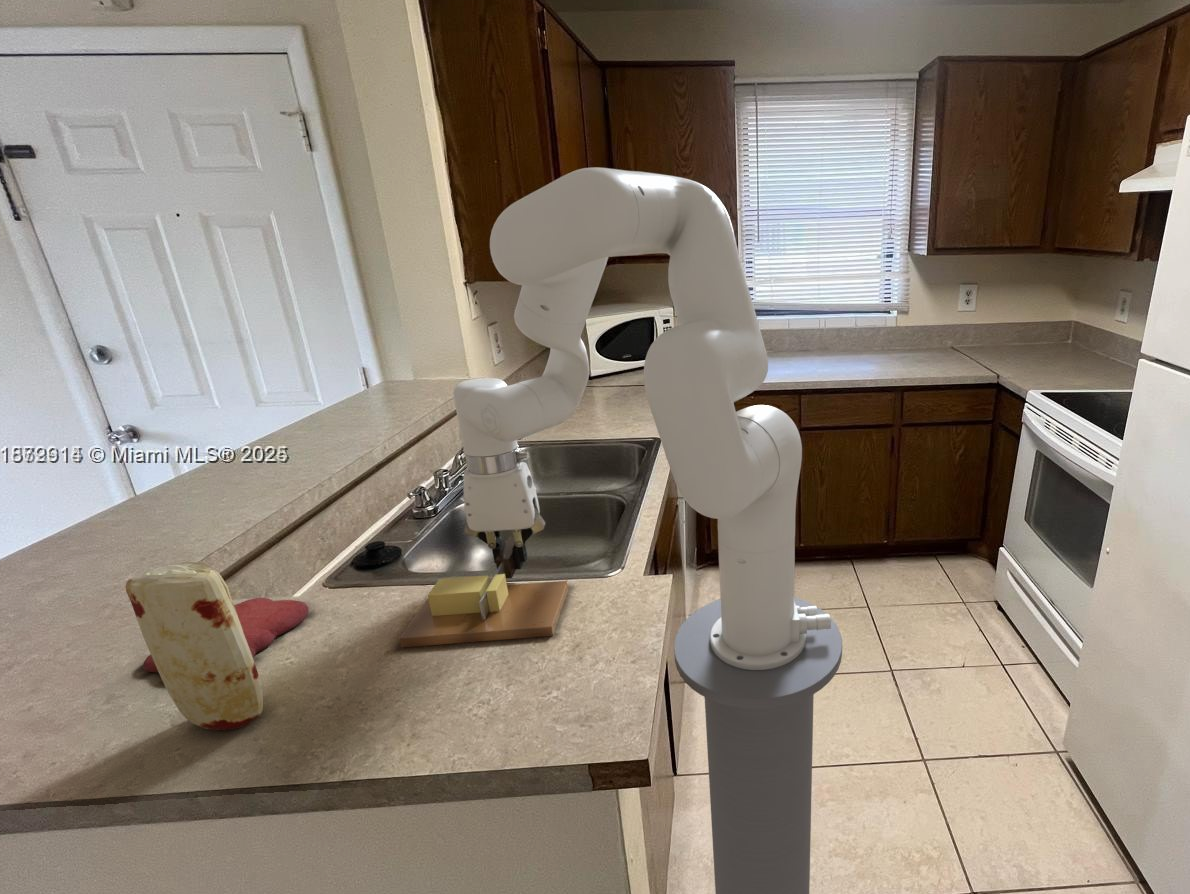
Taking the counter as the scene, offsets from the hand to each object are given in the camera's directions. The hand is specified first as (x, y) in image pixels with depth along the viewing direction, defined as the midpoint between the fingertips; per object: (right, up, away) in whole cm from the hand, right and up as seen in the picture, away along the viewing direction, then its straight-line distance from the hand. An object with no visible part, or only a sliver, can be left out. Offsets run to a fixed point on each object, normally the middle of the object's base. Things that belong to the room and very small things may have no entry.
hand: (512, 564), depth 99 cm
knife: (+1, -2, -5) cm, 5 cm away
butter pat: (+2, -4, -9) cm, 11 cm away
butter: (-3, -4, -10) cm, 11 cm away
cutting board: (+1, -6, -10) cm, 12 cm away
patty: (-32, -8, -15) cm, 36 cm away
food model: (-21, -13, -28) cm, 37 cm away
